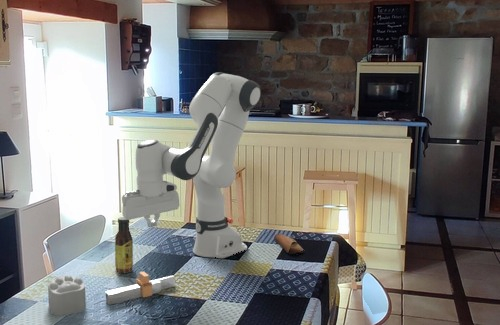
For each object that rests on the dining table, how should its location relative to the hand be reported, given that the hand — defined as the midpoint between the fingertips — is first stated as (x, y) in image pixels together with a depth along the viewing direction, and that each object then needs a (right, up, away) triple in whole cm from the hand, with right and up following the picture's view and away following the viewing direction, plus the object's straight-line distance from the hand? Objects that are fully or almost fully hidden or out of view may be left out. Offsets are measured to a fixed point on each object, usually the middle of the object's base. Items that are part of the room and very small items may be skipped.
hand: (152, 226), depth 187 cm
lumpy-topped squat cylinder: (-24, -23, -17) cm, 37 cm away
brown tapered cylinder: (+51, -14, +39) cm, 66 cm away
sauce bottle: (-12, -18, +10) cm, 24 cm away
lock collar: (-1, -22, -9) cm, 23 cm away
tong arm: (-4, -22, -11) cm, 25 cm away
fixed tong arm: (-2, -21, -8) cm, 23 cm away
